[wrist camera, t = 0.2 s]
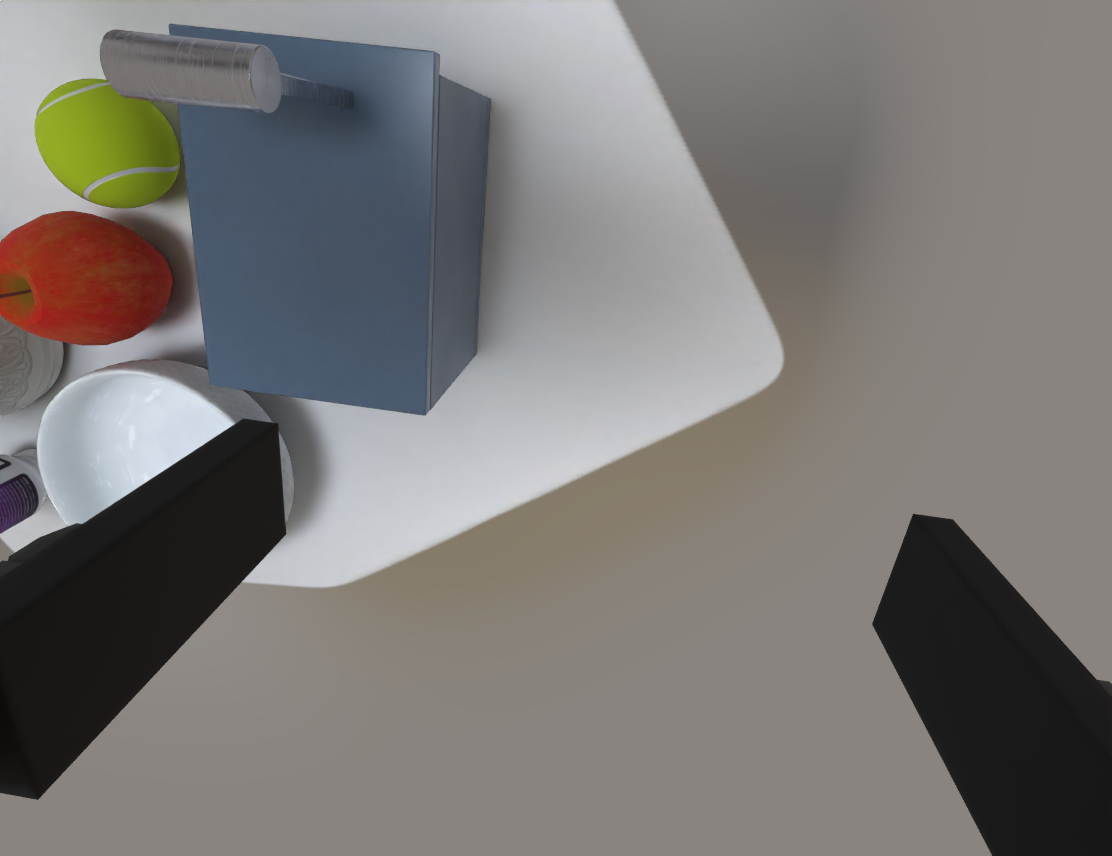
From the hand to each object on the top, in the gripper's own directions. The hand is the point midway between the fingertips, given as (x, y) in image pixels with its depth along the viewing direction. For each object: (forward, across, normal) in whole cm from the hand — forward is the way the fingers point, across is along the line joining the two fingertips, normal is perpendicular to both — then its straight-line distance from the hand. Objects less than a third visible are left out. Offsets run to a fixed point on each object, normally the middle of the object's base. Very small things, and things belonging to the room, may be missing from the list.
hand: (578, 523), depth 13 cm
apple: (+30, -33, -3) cm, 45 cm away
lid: (+19, -15, +2) cm, 24 cm away
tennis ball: (+30, -31, +5) cm, 43 cm away
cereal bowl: (+30, -29, -16) cm, 45 cm away
